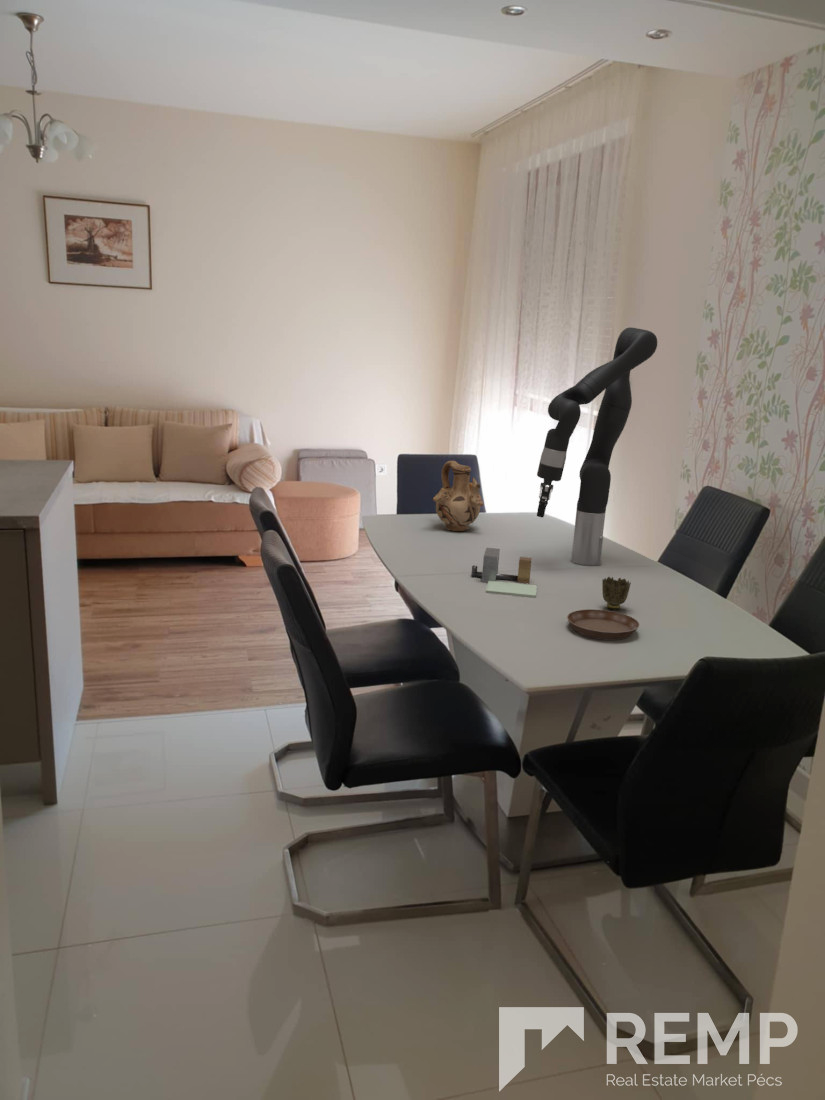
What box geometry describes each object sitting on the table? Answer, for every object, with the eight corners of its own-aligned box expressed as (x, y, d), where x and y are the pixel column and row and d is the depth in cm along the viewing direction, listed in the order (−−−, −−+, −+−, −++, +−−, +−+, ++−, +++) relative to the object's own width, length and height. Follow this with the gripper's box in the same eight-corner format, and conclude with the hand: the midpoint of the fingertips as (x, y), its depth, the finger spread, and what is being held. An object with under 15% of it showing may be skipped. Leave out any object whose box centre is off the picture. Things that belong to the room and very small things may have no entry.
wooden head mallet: (529, 580, 250) (531, 557, 248) (529, 583, 246) (531, 560, 244) (471, 574, 252) (473, 552, 250) (470, 577, 249) (472, 555, 247)
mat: (536, 587, 243) (536, 585, 243) (535, 597, 233) (535, 595, 233) (488, 582, 245) (488, 580, 245) (485, 592, 235) (485, 590, 235)
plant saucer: (551, 628, 210) (553, 617, 209) (591, 615, 222) (592, 604, 221) (612, 649, 198) (614, 637, 197) (651, 633, 210) (652, 622, 209)
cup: (627, 606, 230) (631, 578, 228) (626, 614, 223) (630, 585, 221) (600, 603, 232) (603, 575, 230) (598, 610, 225) (601, 582, 223)
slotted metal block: (497, 574, 254) (499, 548, 252) (495, 583, 244) (497, 556, 242) (484, 573, 255) (486, 547, 253) (481, 582, 245) (483, 555, 243)
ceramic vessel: (430, 532, 302) (435, 464, 296) (432, 521, 321) (436, 456, 314) (480, 536, 302) (486, 467, 295) (479, 525, 320) (485, 460, 314)
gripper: (564, 469, 249) (551, 521, 254) (564, 462, 263) (552, 512, 267) (539, 464, 250) (527, 516, 254) (540, 457, 264) (529, 507, 268)
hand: (540, 514), depth 261 cm, fingers open, 8 cm apart
